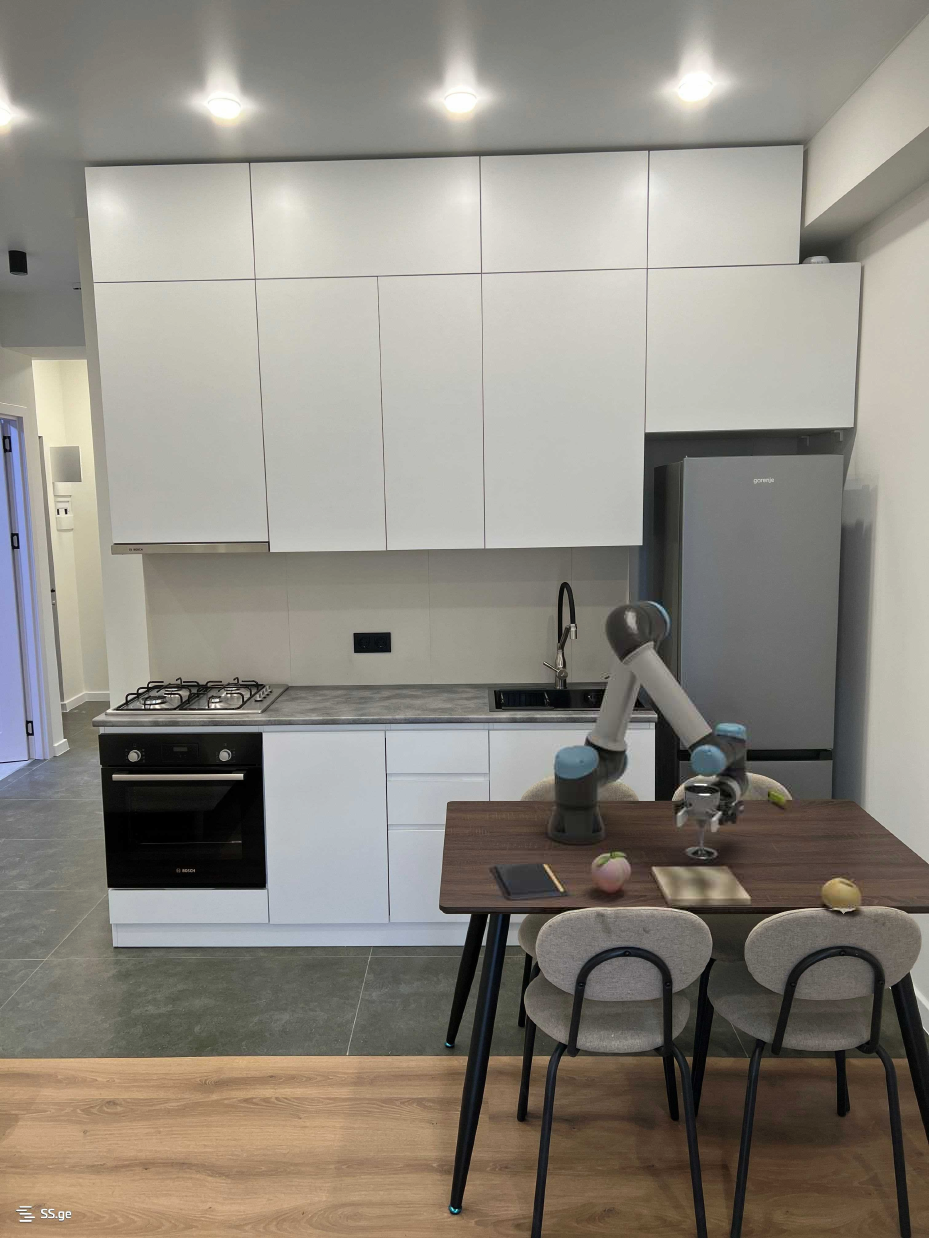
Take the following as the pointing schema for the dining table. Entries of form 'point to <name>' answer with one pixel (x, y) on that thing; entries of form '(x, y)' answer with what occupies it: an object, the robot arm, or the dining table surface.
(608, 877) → the decorative fruit
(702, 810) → the wine glass
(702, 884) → the board
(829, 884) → the onion
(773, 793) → the kitchen knife
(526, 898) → the wallet
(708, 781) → the teacup
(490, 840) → the dining table surface
